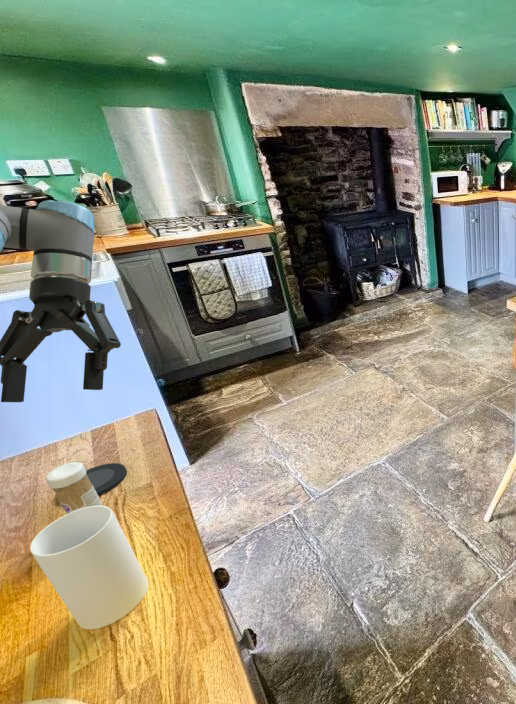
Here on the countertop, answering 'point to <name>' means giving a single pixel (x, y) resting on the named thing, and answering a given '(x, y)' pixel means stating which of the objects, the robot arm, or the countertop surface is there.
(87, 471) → the mat
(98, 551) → the cup
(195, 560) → the countertop surface
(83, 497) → the sprinkles bottle
